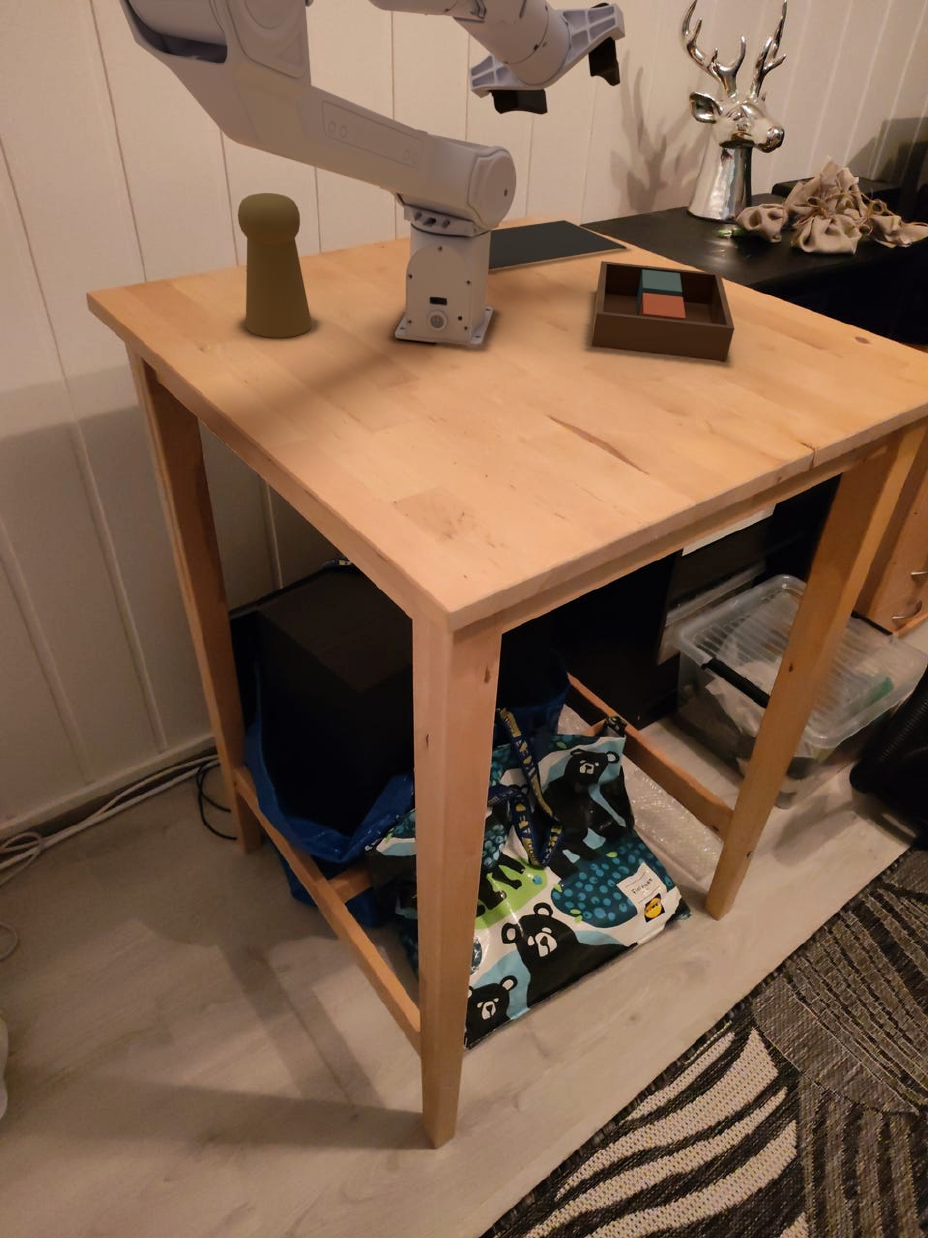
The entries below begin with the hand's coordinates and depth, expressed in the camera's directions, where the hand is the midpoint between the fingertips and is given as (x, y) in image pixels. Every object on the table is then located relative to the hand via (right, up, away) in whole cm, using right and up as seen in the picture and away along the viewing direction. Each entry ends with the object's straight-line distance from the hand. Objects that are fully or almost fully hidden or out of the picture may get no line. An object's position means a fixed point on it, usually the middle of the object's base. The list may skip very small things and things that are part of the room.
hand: (578, 88), depth 82 cm
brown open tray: (+8, -24, 0) cm, 25 cm away
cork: (-28, -25, -5) cm, 38 cm away
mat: (-3, -8, +18) cm, 20 cm away
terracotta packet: (+7, -25, -3) cm, 27 cm away
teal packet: (+8, -21, +2) cm, 23 cm away
